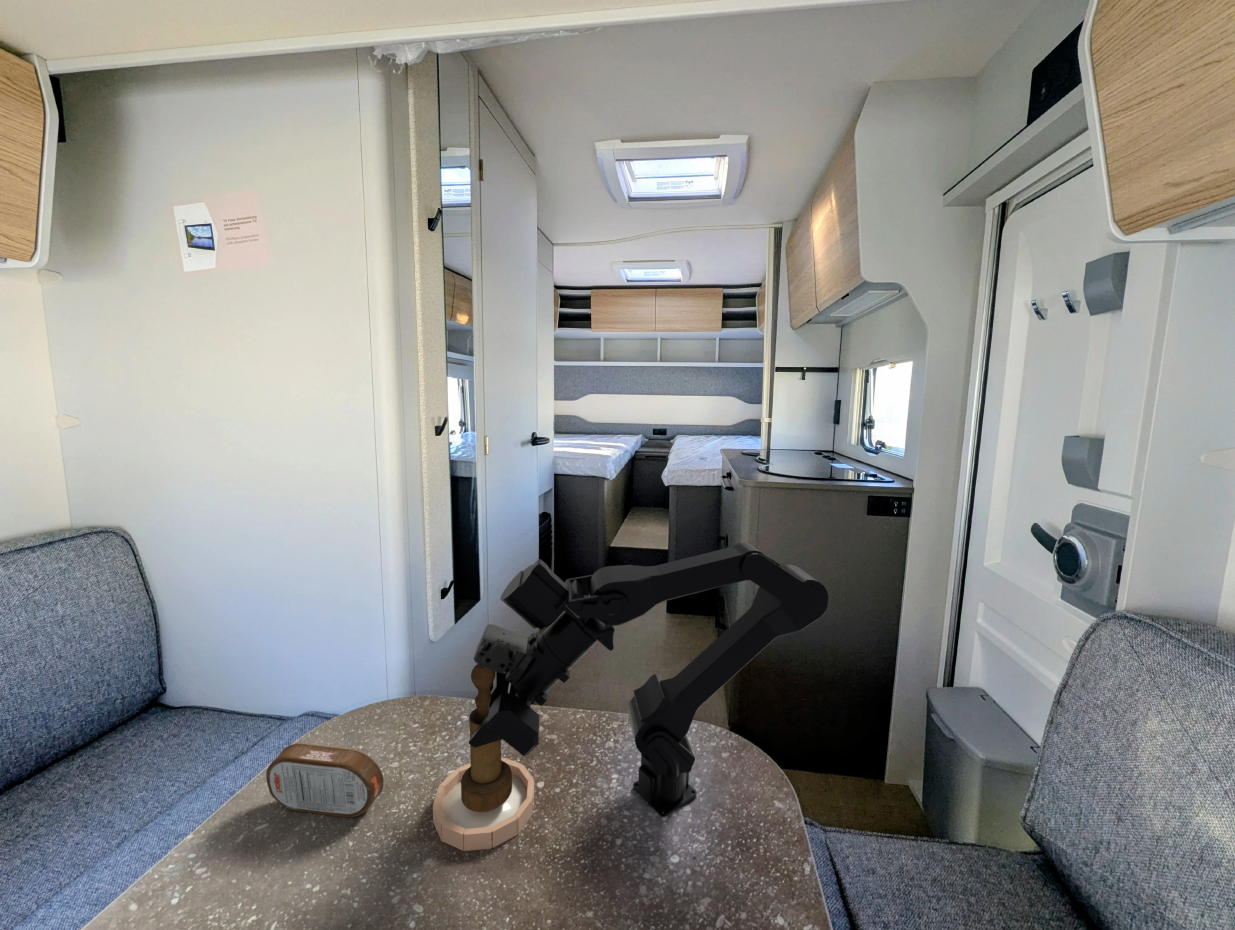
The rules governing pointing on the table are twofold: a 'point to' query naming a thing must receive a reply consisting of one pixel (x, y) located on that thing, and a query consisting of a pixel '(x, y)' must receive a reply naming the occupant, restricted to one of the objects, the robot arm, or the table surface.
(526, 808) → the bowl
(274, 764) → the tin
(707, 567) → the robot arm
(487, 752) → the mortar and pestle
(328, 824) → the table surface
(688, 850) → the table surface
